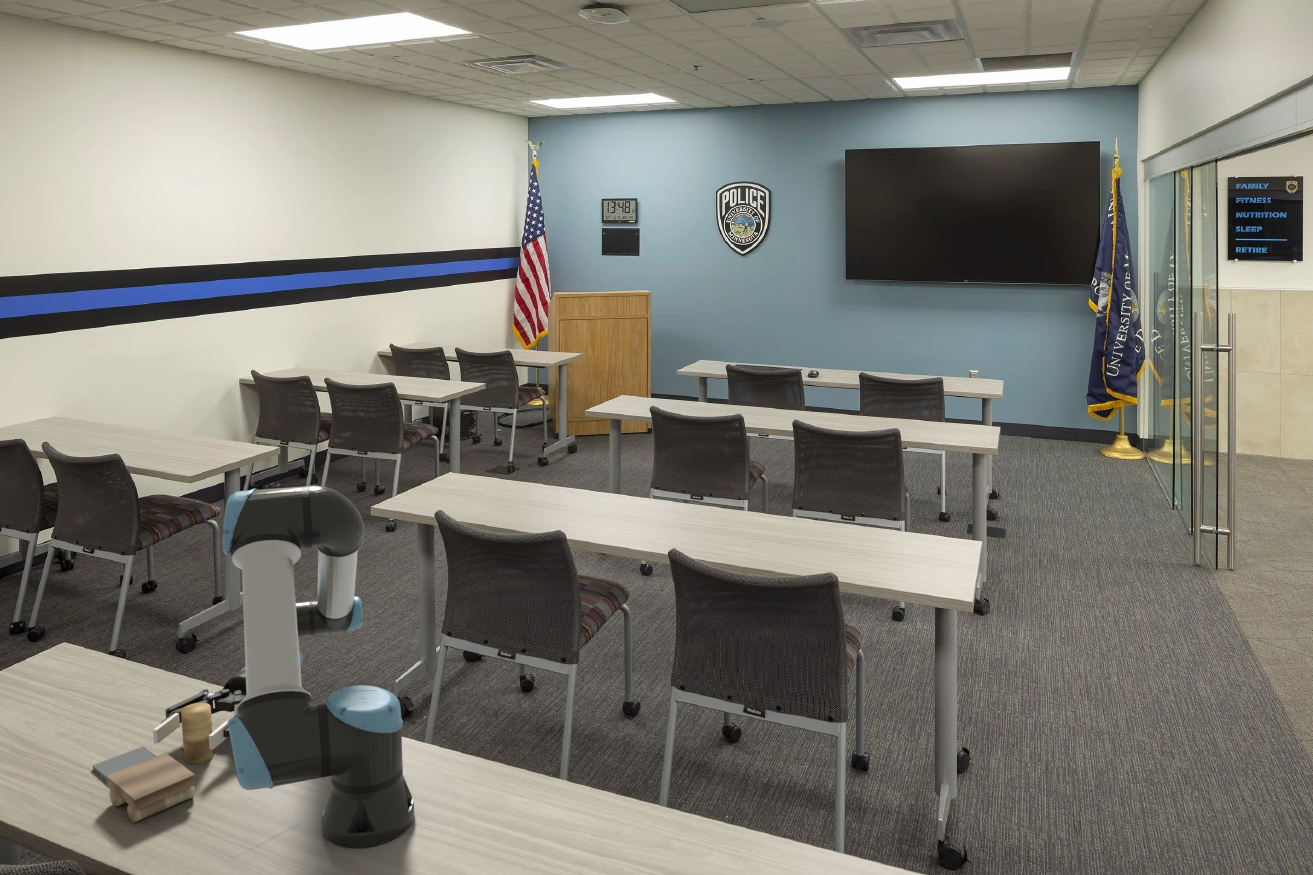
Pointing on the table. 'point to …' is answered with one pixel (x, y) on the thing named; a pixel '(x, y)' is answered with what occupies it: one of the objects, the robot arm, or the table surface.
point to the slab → (151, 786)
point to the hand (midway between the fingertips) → (182, 739)
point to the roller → (196, 733)
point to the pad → (122, 761)
